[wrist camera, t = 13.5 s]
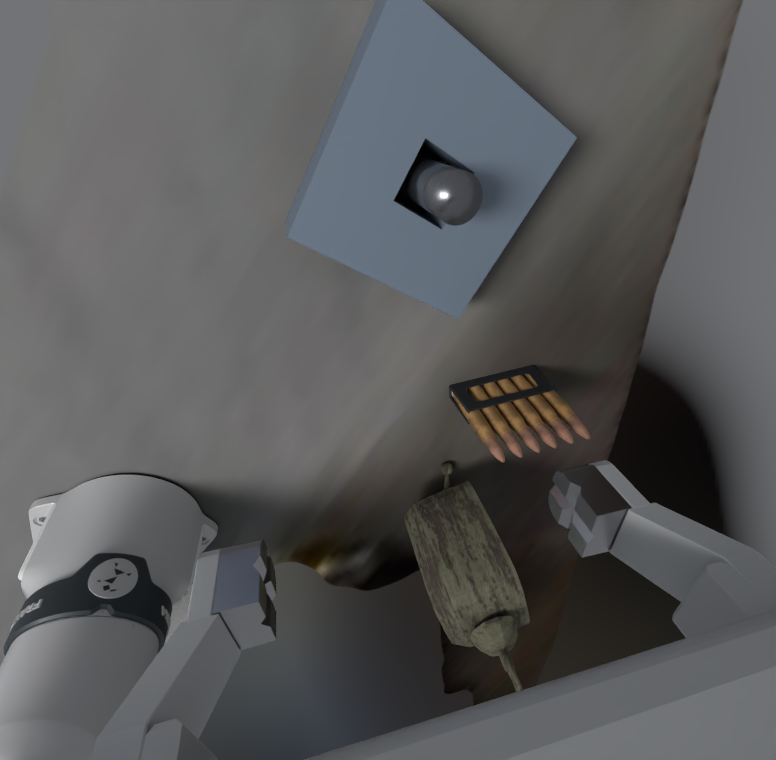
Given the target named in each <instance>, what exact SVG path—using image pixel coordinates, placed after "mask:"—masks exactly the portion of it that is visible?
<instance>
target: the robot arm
mask: <svg viewBox="0 0 776 760" xmlns="http://www.w3.org/2000/svg"><path fill="white" fill-rule="evenodd" d="M552 481H553V482H554V483H555V486H554V487H553V488H552V489H551V490H550V492H549V497H548V501H549V506H550V510H551V512H552V514H553V516H554V518H555V519H556V521H557V522H558V523H559V524H560V525H562V526H564V527H566V528H567V529H568V535H567V537H568V538H569V540H570V541H571V543H572V544H573V546H574V547H575V548H576V550H577V551H578V553H579V554H580V556H581V557H586V556H591V555H595V554H599V553H603V552H608V551H610V553H611V554H612V555H614V556H615V557H617V558H618V559H620V560H621V561H622V562H624V563H625V564H627V565H628V566H630V567H631V568H633V569H634V570H636V571H637V572H638V573H640V574H641V575H643V576H644V577H646V578H647V579H649V580H650V581H652V582H653V583H654V584H656V585H658V586H659V587H660V588H662V589H663V590H665V591H666V592H668V593H669V594H670V595H672V596H673V597H675V598H676V599H678V600H679V601H681V604H680V605H679V606H678V608H677V609H676V611H675V612H674V614H673V619H672V620H673V621H674V623H675V624H676V626H677V627H678V628H679V629H680V631H681V632H682V633H683V635H684V636H685V637H686V639H683V640H680V641H676V642H673V643H670V644H667V645H664V646H661V647H657V648H654V649H651V650H648V651H645V652H642V653H639V654H635V655H632V656H629V657H626V658H623V659H620V660H616V661H613V662H611V663H607V664H604V665H601V666H598V667H595V668H591V669H589V670H585V671H582V672H579V673H576V674H572V675H570V676H566V677H563V678H560V679H557V680H554V681H550V682H547V683H544V684H541V685H538V686H535V687H532V688H528V689H525V690H522V691H519V692H516V693H513V694H510V695H506V696H503V697H500V698H497V699H494V700H491V701H487V702H484V703H481V704H478V705H475V706H472V707H469V708H466V709H462V710H460V711H456V712H453V713H450V714H447V715H443V716H441V717H437V718H434V719H431V720H428V721H425V722H421V723H418V724H415V725H412V726H409V727H406V728H403V729H399V730H396V731H393V732H390V733H387V734H384V735H381V736H377V737H374V738H371V739H368V740H365V741H362V742H358V743H355V744H352V745H349V746H346V747H343V748H340V749H337V750H333V751H330V752H327V753H324V754H321V755H318V756H314V757H311V758H308V759H305V760H776V568H775V567H774V566H773V565H771V564H770V563H769V562H768V561H767V560H766V559H765V558H764V557H763V556H762V555H761V554H760V553H758V552H757V551H756V550H755V549H752V548H750V547H748V546H746V545H744V544H742V543H740V542H737V541H735V540H733V539H731V538H729V537H727V536H725V535H723V534H720V533H718V532H716V531H714V530H712V529H710V528H707V527H705V526H703V525H701V524H699V523H697V522H695V521H693V520H691V519H688V518H686V517H684V516H682V515H680V514H678V513H676V512H674V511H671V510H669V509H667V508H665V507H663V506H661V505H659V504H657V503H652V504H650V503H649V502H648V501H647V500H646V499H645V498H644V497H643V496H642V495H641V494H640V493H639V492H638V491H637V489H636V488H635V487H634V486H632V484H631V483H630V482H629V481H628V480H627V479H626V478H625V477H624V476H623V475H622V474H621V473H620V472H619V471H618V470H617V469H616V467H615V466H614V465H613V464H612V463H610V462H608V461H606V460H605V461H599V462H595V463H592V464H585V465H581V466H577V467H573V468H569V469H565V470H561V471H557V472H556V473H555V474H554V477H553V480H552ZM29 519H30V525H31V532H32V538H33V545H32V547H31V549H30V551H29V553H28V555H27V557H26V559H25V561H24V563H23V565H22V567H21V569H20V572H19V575H18V578H19V579H20V580H22V581H21V587H22V590H23V592H24V594H25V596H26V598H27V600H26V601H25V603H24V605H23V607H22V609H21V611H20V613H19V614H18V615H17V617H16V618H15V620H14V622H13V624H12V626H11V628H10V633H9V635H8V638H7V641H6V643H5V645H4V655H5V658H4V660H3V662H2V664H1V666H0V760H218V759H217V758H216V757H215V756H214V755H213V754H212V753H211V752H210V751H209V750H208V749H207V748H206V747H205V746H204V745H203V744H202V743H201V742H200V741H199V740H198V738H199V737H200V735H201V733H202V730H203V728H204V726H205V724H206V723H207V720H208V719H209V717H210V715H211V713H212V710H213V709H214V706H215V705H216V702H217V700H218V698H219V696H220V694H221V692H222V690H223V688H224V686H225V684H226V682H227V680H228V678H229V676H230V674H231V672H232V670H233V668H234V666H235V664H236V662H237V660H238V658H239V656H240V654H241V651H240V650H244V649H247V648H250V647H254V646H257V645H261V644H264V643H267V642H271V641H274V640H276V610H275V608H274V605H273V603H272V600H273V599H274V597H275V595H276V578H275V570H274V566H273V562H272V559H271V557H269V556H267V546H266V544H265V542H264V540H259V541H255V542H250V543H245V544H240V545H236V546H231V547H226V548H221V549H216V550H212V551H207V552H203V551H204V550H205V549H206V548H207V546H208V545H209V544H210V543H211V542H212V541H213V540H214V538H215V537H216V535H217V532H218V525H217V524H216V523H215V522H213V521H212V520H211V519H209V518H208V517H206V516H205V515H204V514H203V513H202V511H201V509H200V507H199V506H198V504H197V502H196V501H195V500H194V498H193V497H192V496H191V495H190V494H189V493H187V492H186V491H185V490H183V489H182V488H180V487H178V486H176V485H174V484H172V483H170V482H167V481H164V480H161V479H157V478H153V477H148V476H141V475H113V476H106V477H101V478H97V479H93V480H90V481H87V482H85V483H83V484H81V485H78V486H77V487H75V488H73V489H71V490H70V491H68V492H66V493H63V494H60V495H55V496H50V497H45V498H41V499H38V500H36V501H34V502H33V503H32V505H31V508H30V510H29ZM202 552H203V553H202ZM198 557H199V558H198ZM194 574H195V576H194ZM193 579H194V581H193ZM192 583H193V587H192V593H191V599H190V605H189V610H188V616H187V621H186V622H183V623H180V624H179V625H178V627H177V628H176V630H175V631H174V632H173V634H172V635H171V636H170V638H169V639H168V641H167V642H166V643H165V639H166V636H167V635H168V631H169V627H170V621H171V620H170V617H171V612H172V607H173V608H174V607H177V606H178V605H179V603H180V601H181V598H182V597H183V596H185V595H186V594H187V593H188V591H189V590H190V589H191V586H192ZM164 643H165V645H164Z"/></svg>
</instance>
